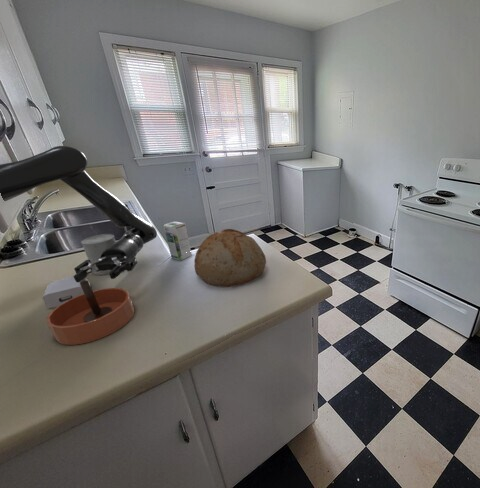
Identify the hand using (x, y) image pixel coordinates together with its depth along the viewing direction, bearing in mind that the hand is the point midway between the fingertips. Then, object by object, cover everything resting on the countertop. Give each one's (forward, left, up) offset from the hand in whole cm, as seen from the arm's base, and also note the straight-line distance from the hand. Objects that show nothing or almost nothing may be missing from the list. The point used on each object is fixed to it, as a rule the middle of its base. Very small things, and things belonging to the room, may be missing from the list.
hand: (94, 277), depth 75 cm
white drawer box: (-12, +17, -11) cm, 24 cm away
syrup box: (+21, +29, -11) cm, 37 cm away
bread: (+37, +7, -11) cm, 39 cm away
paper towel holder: (-1, -4, -10) cm, 11 cm away
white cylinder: (-4, +31, -11) cm, 33 cm away
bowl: (-1, -5, -11) cm, 12 cm away
